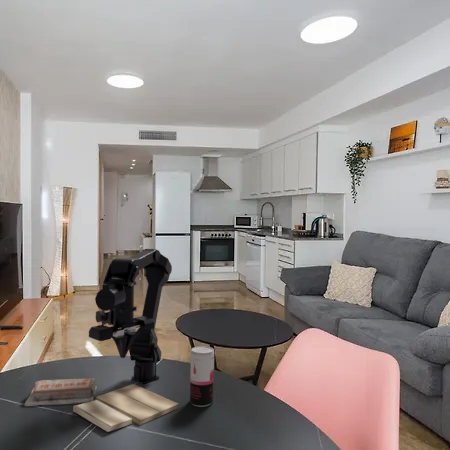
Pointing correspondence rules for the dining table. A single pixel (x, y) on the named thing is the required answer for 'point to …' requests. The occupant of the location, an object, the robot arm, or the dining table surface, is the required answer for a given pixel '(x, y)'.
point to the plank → (102, 415)
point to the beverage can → (202, 376)
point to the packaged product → (62, 392)
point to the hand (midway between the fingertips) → (122, 357)
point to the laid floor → (138, 403)
